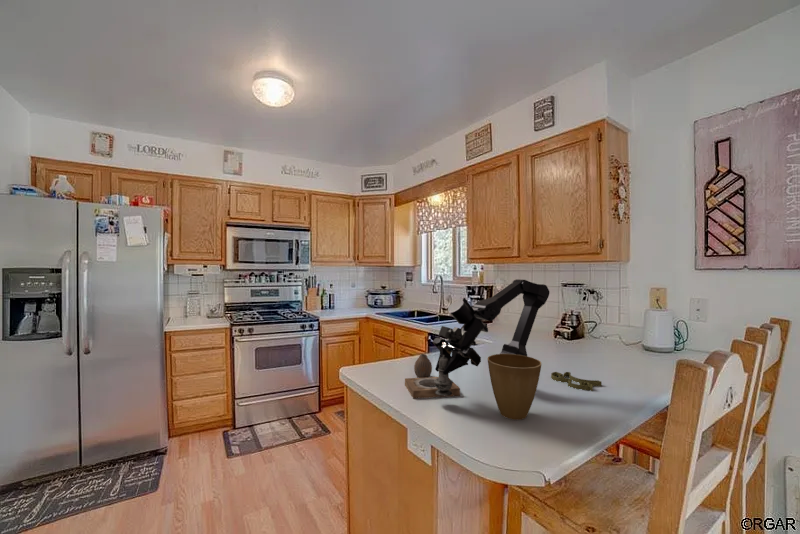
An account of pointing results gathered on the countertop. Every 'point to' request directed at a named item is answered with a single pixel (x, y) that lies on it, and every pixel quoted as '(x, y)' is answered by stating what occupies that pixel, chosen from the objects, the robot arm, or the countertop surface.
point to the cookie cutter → (583, 383)
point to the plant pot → (514, 383)
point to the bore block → (420, 391)
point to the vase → (423, 366)
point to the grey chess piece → (443, 379)
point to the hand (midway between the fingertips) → (439, 372)
